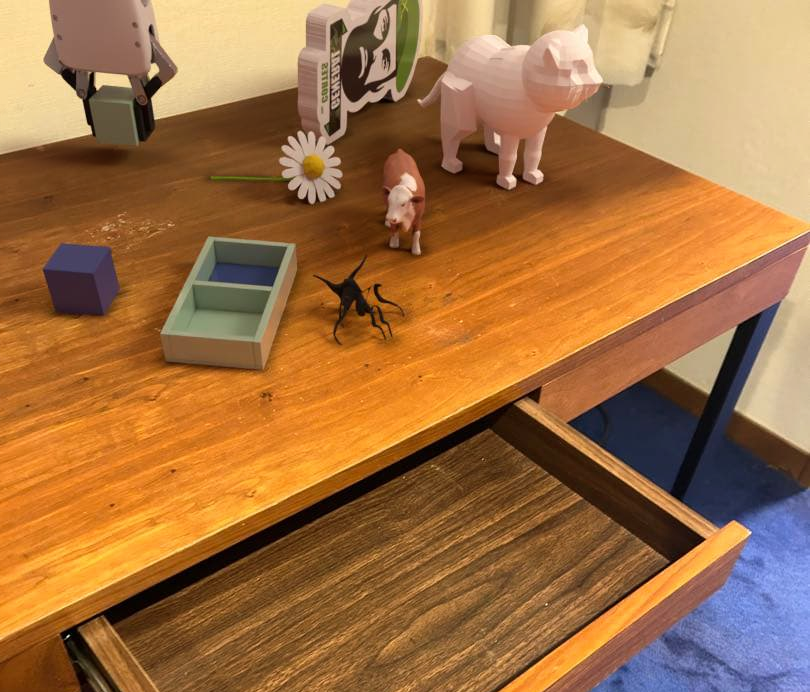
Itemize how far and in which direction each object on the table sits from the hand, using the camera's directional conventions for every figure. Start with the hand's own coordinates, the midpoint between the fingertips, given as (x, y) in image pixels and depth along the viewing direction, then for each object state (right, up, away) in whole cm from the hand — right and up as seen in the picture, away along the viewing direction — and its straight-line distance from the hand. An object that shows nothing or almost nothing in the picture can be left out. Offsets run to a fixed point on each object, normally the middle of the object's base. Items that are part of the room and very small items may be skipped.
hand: (122, 133), depth 98 cm
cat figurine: (+43, -3, +4) cm, 43 cm away
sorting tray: (+17, -26, -18) cm, 35 cm away
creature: (+28, -27, -18) cm, 43 cm away
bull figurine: (+32, -15, -8) cm, 36 cm away
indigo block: (+3, -24, -18) cm, 30 cm away
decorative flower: (+18, -8, -2) cm, 20 cm away
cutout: (+27, +8, +13) cm, 31 cm away
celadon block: (0, 0, 0) cm, 0 cm away
